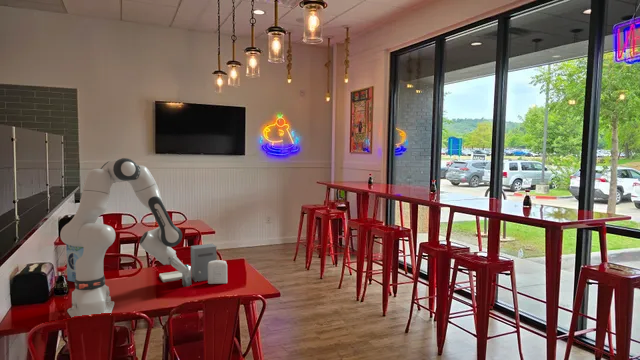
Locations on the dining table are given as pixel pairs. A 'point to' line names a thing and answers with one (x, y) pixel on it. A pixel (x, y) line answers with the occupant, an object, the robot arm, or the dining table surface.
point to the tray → (170, 276)
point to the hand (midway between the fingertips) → (187, 271)
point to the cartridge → (186, 277)
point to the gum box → (72, 260)
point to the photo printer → (217, 272)
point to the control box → (201, 260)
